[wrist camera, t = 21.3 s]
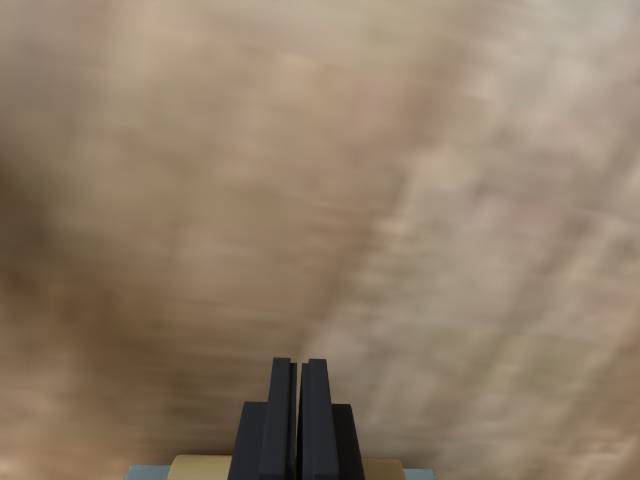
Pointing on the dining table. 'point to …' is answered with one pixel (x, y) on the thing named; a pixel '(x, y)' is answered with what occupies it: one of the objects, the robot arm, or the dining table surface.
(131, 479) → the drawer
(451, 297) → the dining table surface
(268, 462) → the robot arm
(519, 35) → the dining table surface
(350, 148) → the dining table surface
